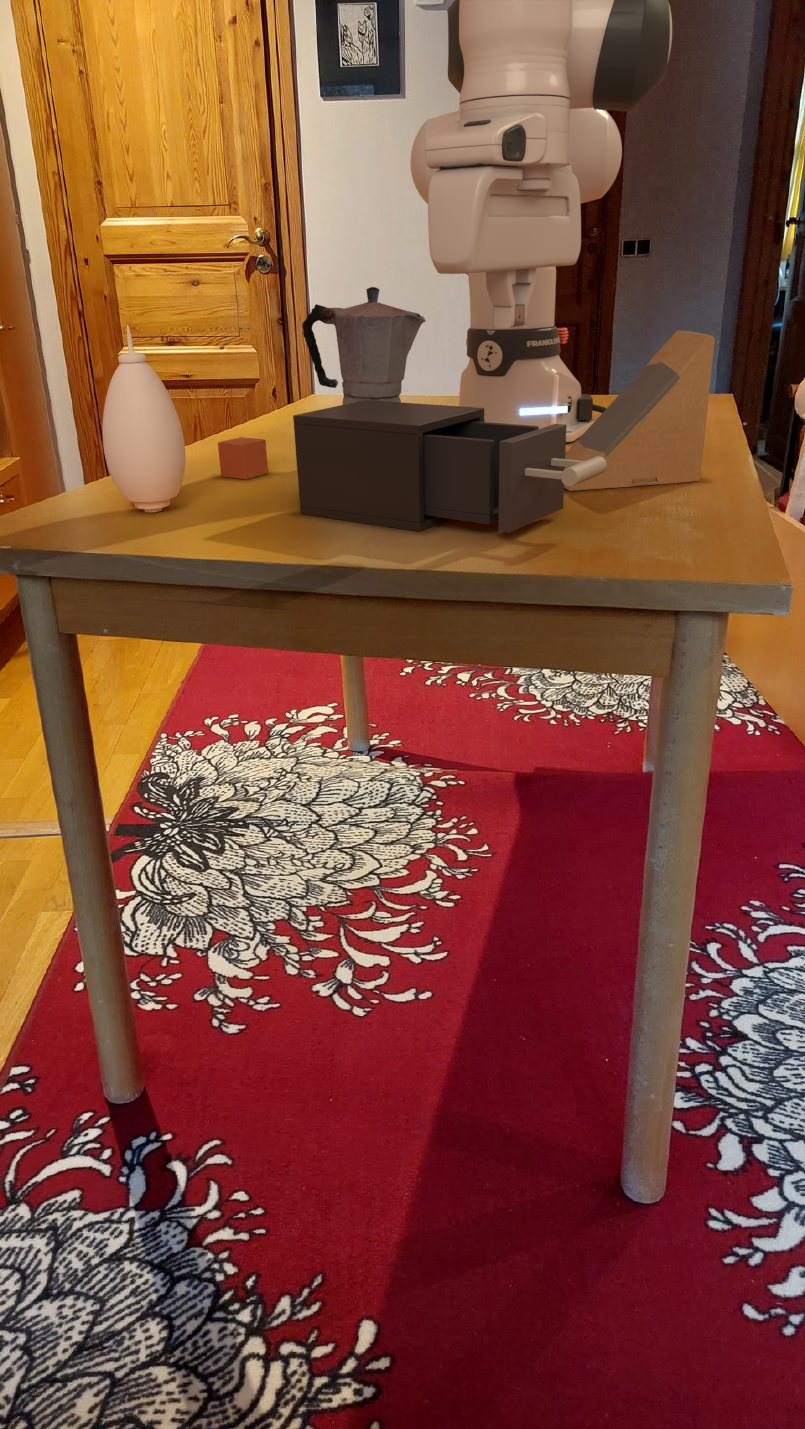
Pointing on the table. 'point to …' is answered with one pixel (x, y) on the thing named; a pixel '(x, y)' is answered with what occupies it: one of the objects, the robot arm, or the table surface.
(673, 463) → the sandwich container
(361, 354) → the moka pot
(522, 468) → the sliding drawer unit
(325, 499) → the dark drawer cabinet
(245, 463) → the block
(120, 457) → the air blower bulb
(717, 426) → the table surface
